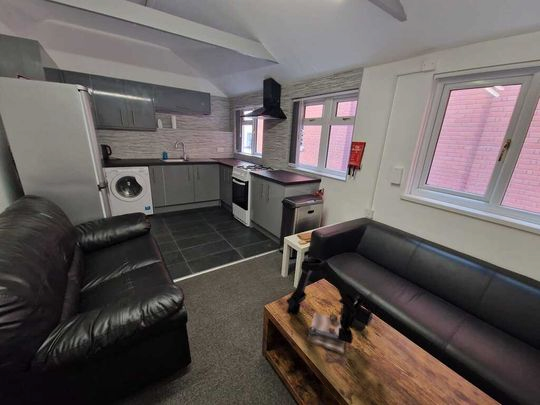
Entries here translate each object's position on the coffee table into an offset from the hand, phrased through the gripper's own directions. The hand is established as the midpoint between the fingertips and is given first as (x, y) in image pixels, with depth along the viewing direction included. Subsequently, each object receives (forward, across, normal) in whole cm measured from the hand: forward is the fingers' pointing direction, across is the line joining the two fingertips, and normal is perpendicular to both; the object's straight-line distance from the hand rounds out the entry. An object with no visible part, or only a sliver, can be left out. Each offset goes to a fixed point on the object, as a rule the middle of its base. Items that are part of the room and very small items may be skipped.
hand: (343, 336), depth 111 cm
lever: (+3, -1, +8) cm, 9 cm away
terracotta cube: (+4, +5, +6) cm, 9 cm away
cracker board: (+6, +4, +8) cm, 11 cm away
